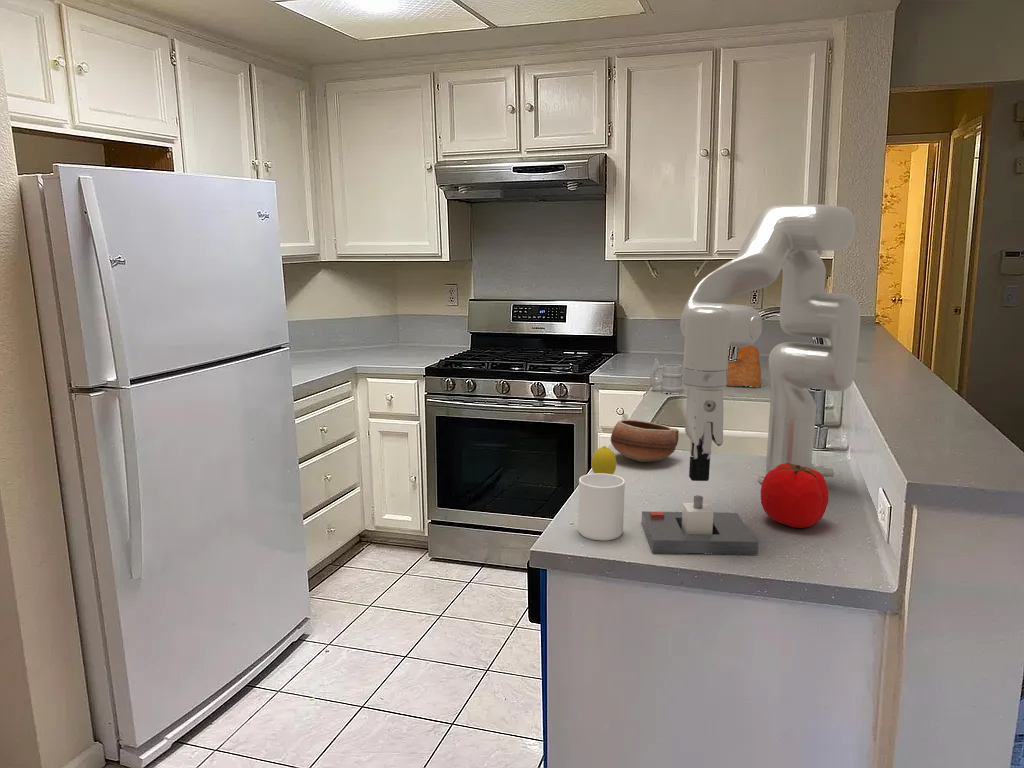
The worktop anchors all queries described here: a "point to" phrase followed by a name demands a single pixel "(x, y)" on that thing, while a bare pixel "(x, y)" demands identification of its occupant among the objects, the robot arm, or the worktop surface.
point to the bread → (745, 368)
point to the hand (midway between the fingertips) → (698, 479)
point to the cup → (601, 506)
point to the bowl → (644, 440)
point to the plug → (697, 517)
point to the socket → (698, 535)
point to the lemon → (604, 461)
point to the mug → (668, 377)
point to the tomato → (794, 495)
